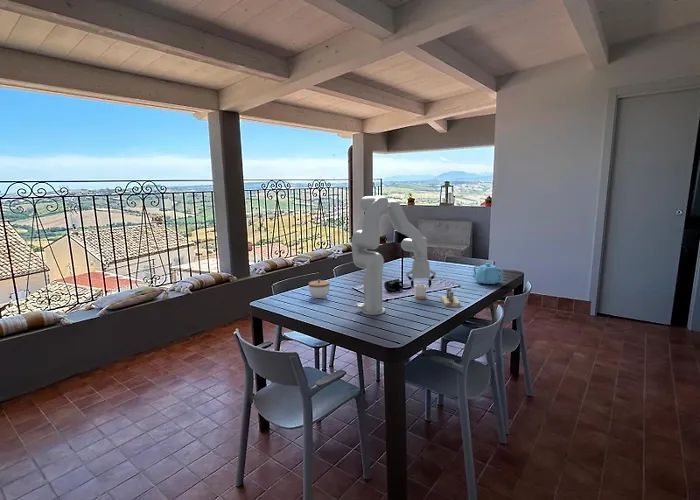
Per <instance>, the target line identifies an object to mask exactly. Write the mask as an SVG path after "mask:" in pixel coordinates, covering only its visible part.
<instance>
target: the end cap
mask: <svg viewBox="0 0 700 500" xmlns="http://www.w3.org/2000/svg"><path fill="white" fill-rule="evenodd" d="M403 284H404V282H403V281H402V280H400V279H399V278H397V279H391V280H386V281H384V284H383V287H384V289H385V291H386V292H388V291H389V292H388V293H391V292H394V293H397V292H396V291H398V292H401V291H400V290H402V291H403V287H404V286H403Z"/></svg>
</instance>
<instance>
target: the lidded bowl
mask: <svg viewBox="0 0 700 500" xmlns="http://www.w3.org/2000/svg"><path fill="white" fill-rule="evenodd" d="M330 283H331V282H330V281H328V280H321V279H317V280H311V281H310V282H308V289H309V294H310V295H311V296H312V297H313V299H315V298H323V299H325V298H327V296H329V295H328V294H329V292H330ZM324 297H325V298H324Z"/></svg>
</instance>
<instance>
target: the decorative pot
mask: <svg viewBox="0 0 700 500" xmlns="http://www.w3.org/2000/svg"><path fill="white" fill-rule="evenodd" d="M476 268H477V270H476ZM499 270H500V271H499ZM503 273H504V271H503V269H502V268H501V267H497V266H496V265H494V264H492V263H490V262H485V264H482V265H475V266H474V267H473V274H472V278H474V280H475V281H476V282H477V283H478V284H479V283H483V285H484V284H485V285H489V284H493V285H495V284H497V283H499V282H500V281H503V280H504V277H502V275H503Z"/></svg>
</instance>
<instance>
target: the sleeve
mask: <svg viewBox="0 0 700 500" xmlns="http://www.w3.org/2000/svg"><path fill="white" fill-rule="evenodd" d="M414 298H415V300H426V299H427V286H426V284H414Z"/></svg>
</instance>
